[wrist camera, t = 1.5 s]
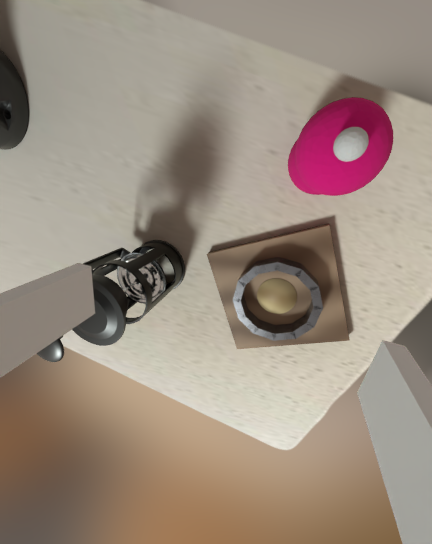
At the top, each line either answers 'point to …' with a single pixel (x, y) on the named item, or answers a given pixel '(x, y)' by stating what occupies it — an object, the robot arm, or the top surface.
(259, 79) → the top surface
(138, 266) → the french press
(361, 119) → the pepper mill
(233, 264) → the collar plate
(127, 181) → the top surface
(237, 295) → the iron collar
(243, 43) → the top surface
